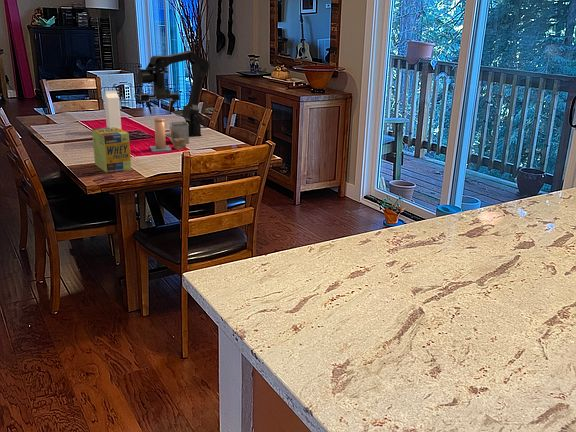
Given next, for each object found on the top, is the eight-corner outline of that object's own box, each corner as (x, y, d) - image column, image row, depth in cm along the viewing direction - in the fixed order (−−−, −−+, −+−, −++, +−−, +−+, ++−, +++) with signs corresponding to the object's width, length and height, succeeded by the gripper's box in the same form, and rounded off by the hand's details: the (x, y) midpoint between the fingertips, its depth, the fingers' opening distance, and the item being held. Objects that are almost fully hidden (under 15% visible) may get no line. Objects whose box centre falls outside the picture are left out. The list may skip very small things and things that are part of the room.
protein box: (107, 173, 225) (103, 135, 220) (94, 164, 237) (91, 128, 231) (132, 170, 231) (129, 133, 226) (118, 161, 243) (115, 126, 237)
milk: (121, 133, 294) (118, 91, 287) (110, 134, 291) (106, 91, 283) (118, 131, 299) (115, 89, 291) (106, 132, 296) (103, 90, 288)
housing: (186, 139, 285) (185, 121, 281) (188, 143, 278) (188, 124, 274) (169, 140, 282) (168, 121, 279) (171, 144, 275) (171, 124, 272)
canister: (163, 146, 267) (162, 117, 262) (167, 148, 263) (166, 119, 259) (154, 147, 264) (152, 118, 260) (158, 149, 261) (156, 120, 256)
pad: (169, 146, 270) (169, 145, 269) (171, 151, 262) (171, 149, 261) (150, 147, 267) (150, 146, 266) (152, 152, 259) (152, 150, 258)
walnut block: (182, 146, 271) (181, 137, 269) (186, 148, 267) (185, 139, 266) (173, 147, 268) (172, 138, 267) (177, 149, 265) (176, 140, 263)
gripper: (140, 85, 263) (142, 118, 268) (180, 84, 268) (181, 116, 274) (138, 82, 272) (140, 113, 278) (177, 81, 278) (178, 112, 284)
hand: (160, 114), depth 278 cm, fingers open, 9 cm apart
